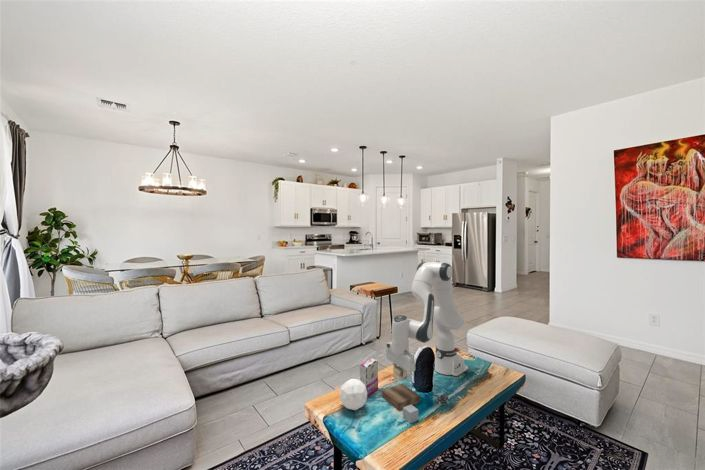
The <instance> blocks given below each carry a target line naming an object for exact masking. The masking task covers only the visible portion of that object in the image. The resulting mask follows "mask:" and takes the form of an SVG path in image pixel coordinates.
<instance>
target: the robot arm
mask: <svg viewBox="0 0 705 470" xmlns="http://www.w3.org/2000/svg"><path fill="white" fill-rule="evenodd" d="M453 270H454V269H453V267H452V266H451V264H450V263H447V262H440V261H433V262H432V261H429V262H428V261H427V262H426V261H423V262H420V263H419V264H418V265H417V267H416V273H415V275H414V277H413V280H412V283H411V286H410V287H411V288H410V291H411V293H412V295H413V297H414V298H416V299H417V300H418V301H420V302H422V304H423V306H424V309H423V316H422V317H423V319H422V321H419V320H415V319H412V318H411V319H410V318H408V316H406V315H404V314H403V315H395V316H394V317H393V319H392V322H391V323H392V324H391V335H392V339H391V341H388V342H386V343H385V347H386V348H385V355H386V356H385V357H386V359H387V360H389V361H390V362H392V366H393V367H397V366H400V367H401V368H403V371H404V372H403V373H402V376H403V377H406V373H407V374H408V373H414V372H415V371H416V360H415V357H414V355H413V353H412V352H410V349H409V348H410V346H409V345H410V342H409V341H410V340H409V339H412V340H416V341H417V342H421V343H424V344H425V343H427V342H429V341H430V340H431V339H432V338H433V335H434V333H435V338H436V346H435V358H434V363H435V370H434V371H436V372H437V373H438V374H441V375H446V376H455V377H456V376H457V377H458V376H460V375H461V374H463V373H464V372H466V371H468V370H469V366H468V365H467V364H466V363H465V359H464V358H463V356H461V355H460V354H458V353H457V352H460V348H458V347H455V334H454V333H453V332H452V331H451V330H461V329H462V328H463V327H464V324H465V319H464V316H463V314H461V312H459V311H460V310H458V308H457V305H456V302H455V301H454V295H453V294H454V293H453V286H452V277H453V273H454V271H453ZM432 287H433V292H434V295H433V294H432ZM435 303H436V304H437V305H438V306H437V305H436V306H435ZM433 328H434V331H435V332H434V333H433Z"/></svg>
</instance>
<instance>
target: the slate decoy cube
mask: <svg viewBox="0 0 705 470" xmlns="http://www.w3.org/2000/svg"><path fill="white" fill-rule="evenodd" d="M402 418H403V419H404V420H405V421H406V422H408V423H409V424H412V423H415V422H417V421H419V409H418V408H416V407H415V406H414V405H408V406H406V407H403V409H402Z"/></svg>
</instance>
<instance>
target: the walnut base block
mask: <svg viewBox="0 0 705 470" xmlns="http://www.w3.org/2000/svg"><path fill="white" fill-rule="evenodd" d="M381 398H383V399H384V400H385V401H386V402H388V404H390V405H391V406H392V407H393V408H395V409H396V410H397V411H401V410H403V407H406V406H408V405H413V406H414V405H417V404H419V403H421V399H420V398H421V396H420V394H418V392H415V391H414V390H413V389H412V388H410V387H408V386H406V385H405V384H404V383H401V384H397V385H394V386H391V387H389V388H385V389H382V390H381Z"/></svg>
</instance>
